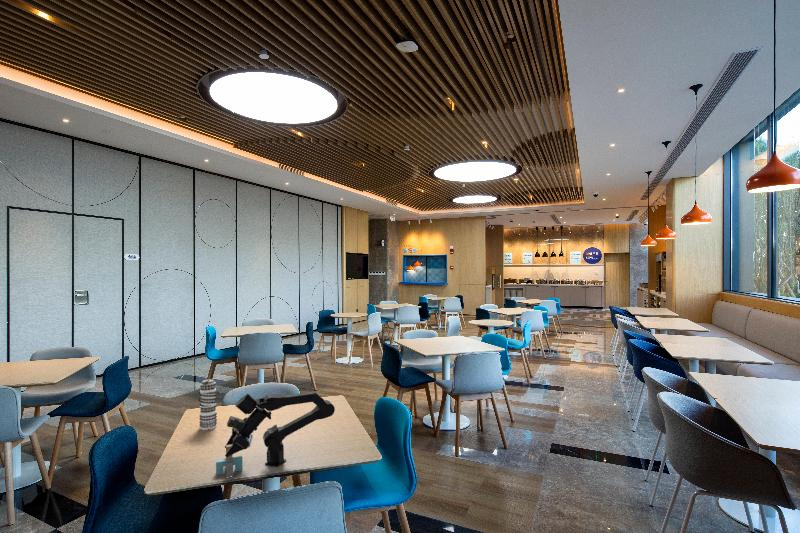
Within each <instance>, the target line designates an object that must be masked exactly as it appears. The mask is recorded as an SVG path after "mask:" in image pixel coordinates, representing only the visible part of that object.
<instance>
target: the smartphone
mask: <svg viewBox="0 0 800 533" xmlns="http://www.w3.org/2000/svg"><path fill="white" fill-rule="evenodd" d="M253 436H254V434H253V433H252V434H251V435H250V438H249V446H248V448H250V447H251V444H252V440H253Z"/></svg>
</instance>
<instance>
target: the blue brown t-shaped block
mask: <svg viewBox="0 0 800 533" xmlns="http://www.w3.org/2000/svg"><path fill="white" fill-rule="evenodd" d="M225 446H226V448H225V454H226V453H227V451H228V450H229V449H230V447H231V446H232V444H231V445H226V444H225ZM228 461H233V466H234V470H235V472H236V473H237V472H239V471H240V470H241V471H243V456H242V455H239V456H233V455H231V456H229V457H226V456H225V458H221V459H215V475H216V476H219V475H224V467H225V468H226V462H228ZM218 474H219V475H218Z"/></svg>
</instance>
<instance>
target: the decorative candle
mask: <svg viewBox="0 0 800 533" xmlns="http://www.w3.org/2000/svg"><path fill="white" fill-rule="evenodd" d="M216 383H217V381H215V380H214V379H211V378H209V379H203V380H202V381H201V382H200V383H199V386H200V387H199V388H200V389H199V392H198V402H199V407H200V410H199V430H201V429H202V431H206V430H207V431H208V429H209V430H212V429H215V428H217V426H218V422H217V421H218V419H217V414H218V413H217V409H216V408H217V405H218V404H217V402H218V401H217V399H218V397H217V396H218V394H217V393H218V391H217V387H216Z"/></svg>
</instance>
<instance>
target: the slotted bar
mask: <svg viewBox="0 0 800 533" xmlns="http://www.w3.org/2000/svg"><path fill="white" fill-rule="evenodd" d="M225 475H226V477H230V476H233V477H234V465H233V461H228V462H226V466H225ZM230 478H231V477H230Z"/></svg>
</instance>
